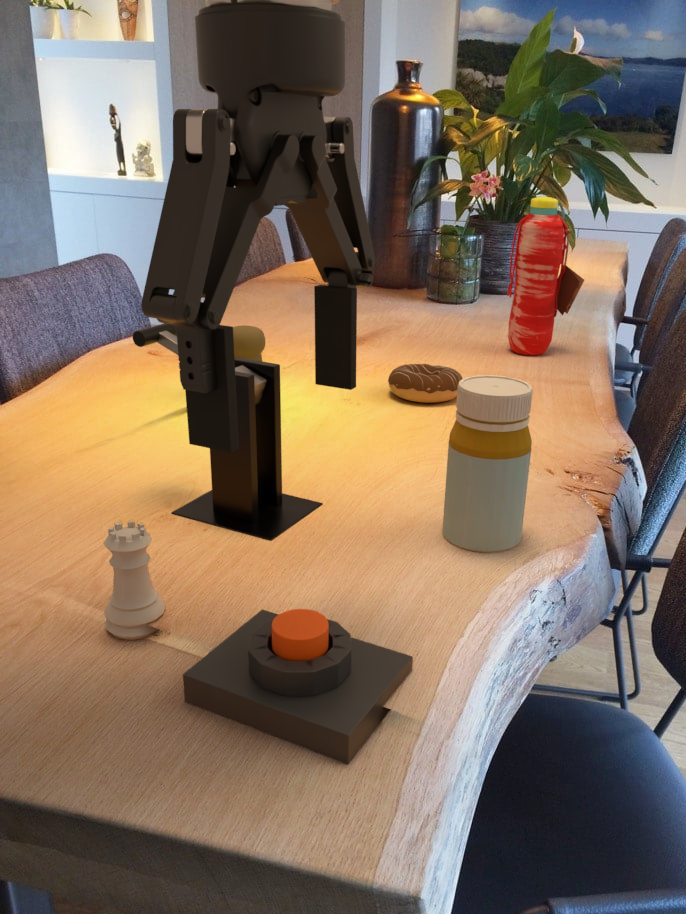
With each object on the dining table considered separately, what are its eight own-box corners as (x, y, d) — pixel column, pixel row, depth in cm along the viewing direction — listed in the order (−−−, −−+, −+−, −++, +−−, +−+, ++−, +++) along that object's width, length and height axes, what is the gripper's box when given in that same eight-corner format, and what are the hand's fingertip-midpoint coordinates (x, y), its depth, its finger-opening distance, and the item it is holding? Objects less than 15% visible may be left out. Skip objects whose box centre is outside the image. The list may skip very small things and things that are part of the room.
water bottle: (565, 347, 146) (585, 196, 136) (577, 358, 139) (598, 200, 128) (498, 345, 146) (512, 194, 135) (505, 356, 138) (521, 198, 128)
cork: (213, 412, 107) (209, 327, 103) (245, 401, 112) (243, 319, 107) (248, 421, 104) (245, 334, 100) (280, 410, 109) (278, 326, 104)
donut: (394, 407, 111) (395, 378, 109) (381, 385, 121) (382, 358, 119) (471, 406, 113) (473, 377, 111) (452, 384, 122) (454, 357, 121)
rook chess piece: (152, 646, 59) (143, 546, 56) (94, 638, 60) (81, 539, 56) (177, 613, 63) (169, 518, 60) (122, 606, 64) (111, 512, 60)
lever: (129, 347, 74) (134, 323, 73) (166, 336, 78) (172, 313, 77) (236, 413, 71) (243, 389, 70) (268, 399, 75) (276, 376, 74)
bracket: (171, 525, 77) (159, 369, 71) (229, 491, 84) (222, 347, 78) (271, 553, 72) (267, 389, 66) (323, 515, 80) (323, 364, 74)
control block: (184, 702, 53) (180, 650, 52) (262, 634, 61) (261, 587, 59) (348, 765, 48) (349, 710, 47) (411, 683, 56) (414, 633, 54)
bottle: (457, 523, 79) (470, 369, 73) (529, 539, 76) (547, 381, 70) (429, 553, 73) (440, 389, 67) (505, 572, 70) (523, 402, 64)
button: (260, 652, 52) (260, 629, 52) (291, 625, 55) (291, 603, 55) (309, 669, 51) (310, 645, 50) (338, 640, 54) (338, 617, 53)
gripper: (169, -45, 30) (206, 496, 38) (434, 33, 50) (420, 374, 59) (18, -32, 33) (84, 467, 41) (326, 37, 53) (328, 360, 62)
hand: (281, 413), depth 50 cm, fingers open, 13 cm apart
